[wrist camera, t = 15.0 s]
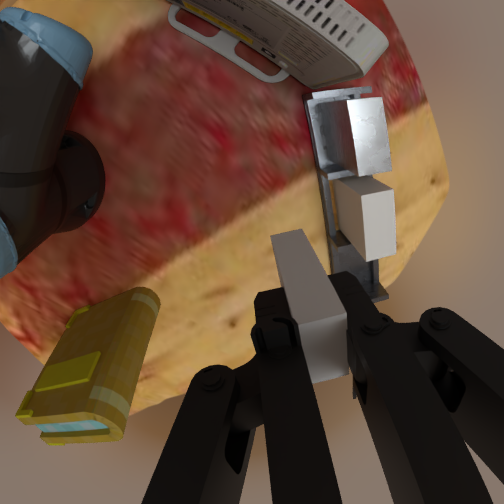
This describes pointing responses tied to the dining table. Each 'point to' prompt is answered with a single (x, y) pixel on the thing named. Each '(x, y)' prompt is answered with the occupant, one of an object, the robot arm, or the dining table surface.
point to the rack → (347, 166)
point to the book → (93, 371)
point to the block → (366, 215)
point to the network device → (290, 36)
